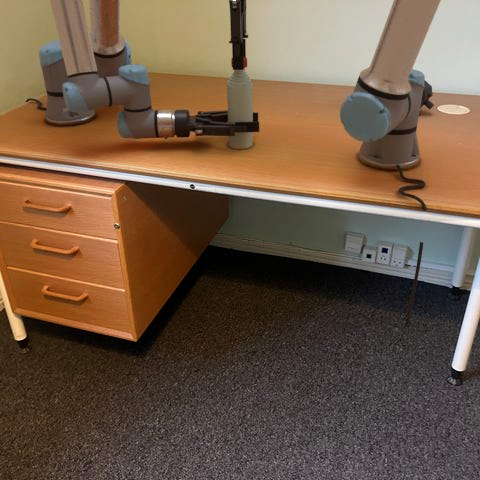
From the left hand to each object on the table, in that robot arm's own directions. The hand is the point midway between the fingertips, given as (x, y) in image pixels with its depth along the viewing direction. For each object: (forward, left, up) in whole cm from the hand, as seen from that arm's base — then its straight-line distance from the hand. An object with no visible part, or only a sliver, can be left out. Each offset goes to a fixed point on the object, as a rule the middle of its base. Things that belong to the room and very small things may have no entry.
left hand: (258, 122), depth 146 cm
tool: (+31, +45, -6) cm, 55 cm away
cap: (-5, -2, +17) cm, 18 cm away
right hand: (-5, -2, +15) cm, 16 cm away
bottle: (-5, -2, -6) cm, 8 cm away
